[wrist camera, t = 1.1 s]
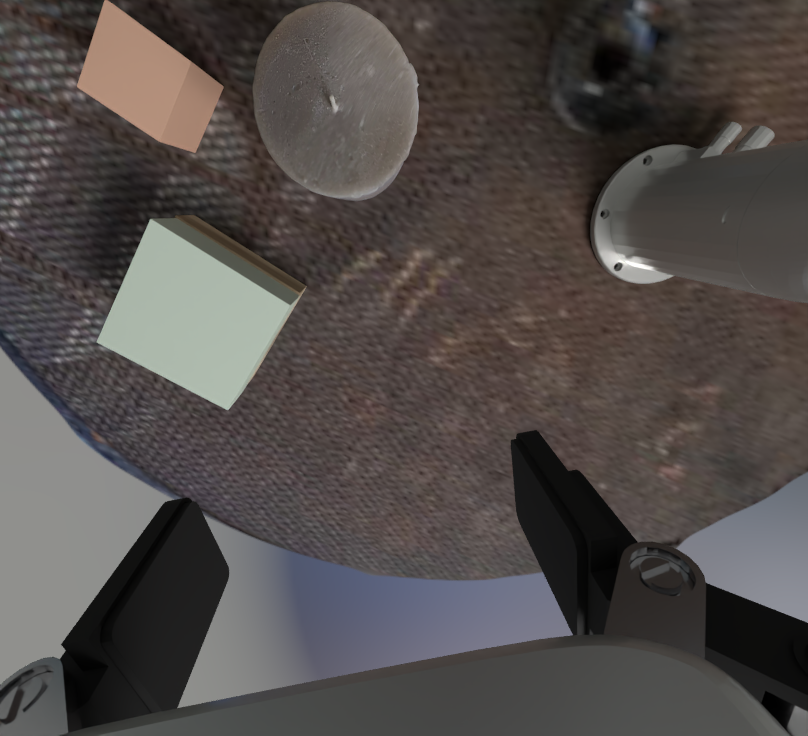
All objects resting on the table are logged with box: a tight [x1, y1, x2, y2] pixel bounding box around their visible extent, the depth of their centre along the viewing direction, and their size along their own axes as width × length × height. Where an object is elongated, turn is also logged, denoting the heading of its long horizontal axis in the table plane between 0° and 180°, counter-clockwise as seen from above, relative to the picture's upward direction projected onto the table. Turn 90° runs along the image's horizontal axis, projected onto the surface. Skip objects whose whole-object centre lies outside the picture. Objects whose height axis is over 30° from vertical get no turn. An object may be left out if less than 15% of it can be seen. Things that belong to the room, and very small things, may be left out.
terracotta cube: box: [77, 0, 224, 153], centre depth 30 cm, size 6×6×6 cm
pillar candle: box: [252, 1, 419, 201], centre depth 28 cm, size 10×10×15 cm
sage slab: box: [97, 218, 300, 410], centre depth 34 cm, size 12×12×4 cm
